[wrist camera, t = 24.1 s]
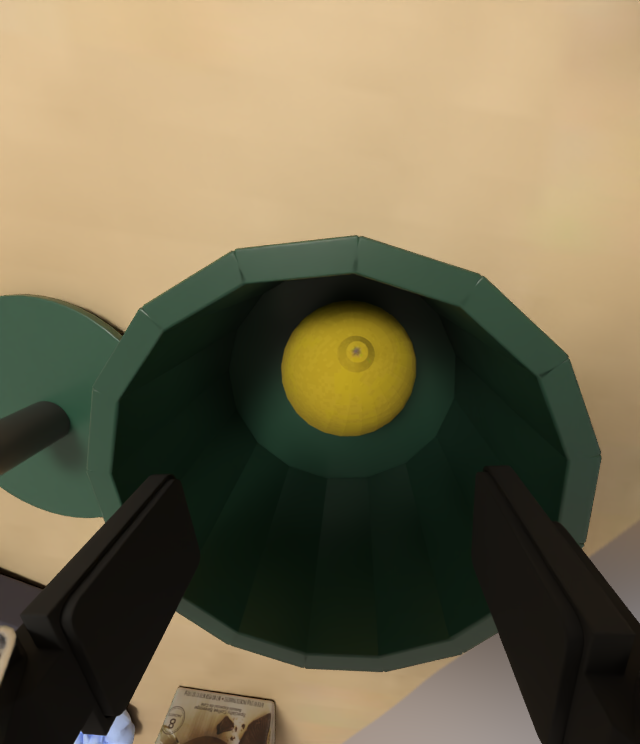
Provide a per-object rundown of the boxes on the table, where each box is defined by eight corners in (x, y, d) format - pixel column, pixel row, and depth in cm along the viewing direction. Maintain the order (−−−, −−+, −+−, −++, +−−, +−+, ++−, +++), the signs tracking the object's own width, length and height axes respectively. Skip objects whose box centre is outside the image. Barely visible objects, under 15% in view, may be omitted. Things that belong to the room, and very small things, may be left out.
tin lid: (-87, 304, 21) (-282, 325, 14) (143, 281, 19) (35, 292, 12) (9, 507, 25) (-106, 590, 19) (200, 504, 23) (143, 595, 17)
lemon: (327, 313, 19) (334, 235, 11) (410, 369, 18) (480, 330, 10) (269, 394, 18) (231, 373, 10) (353, 454, 18) (382, 480, 10)
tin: (198, 264, 18) (11, 273, 8) (472, 235, 16) (652, 202, 7) (242, 485, 23) (156, 662, 13) (462, 480, 21) (560, 681, 11)
